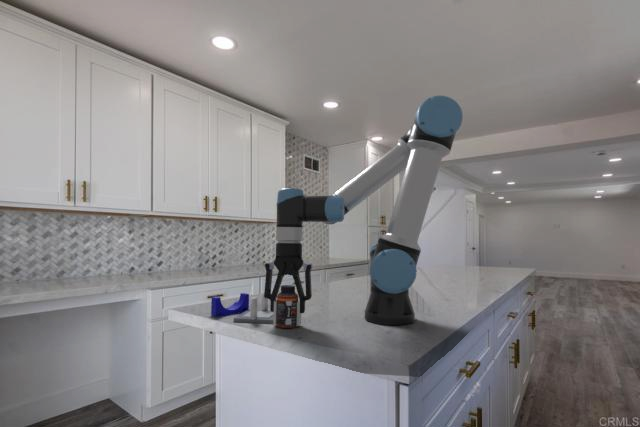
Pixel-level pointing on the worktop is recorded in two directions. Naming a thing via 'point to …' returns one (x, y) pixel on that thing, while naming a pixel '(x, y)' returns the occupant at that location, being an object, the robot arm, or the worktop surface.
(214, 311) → the cable clip
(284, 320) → the supplement bottle
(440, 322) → the worktop surface
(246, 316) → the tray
